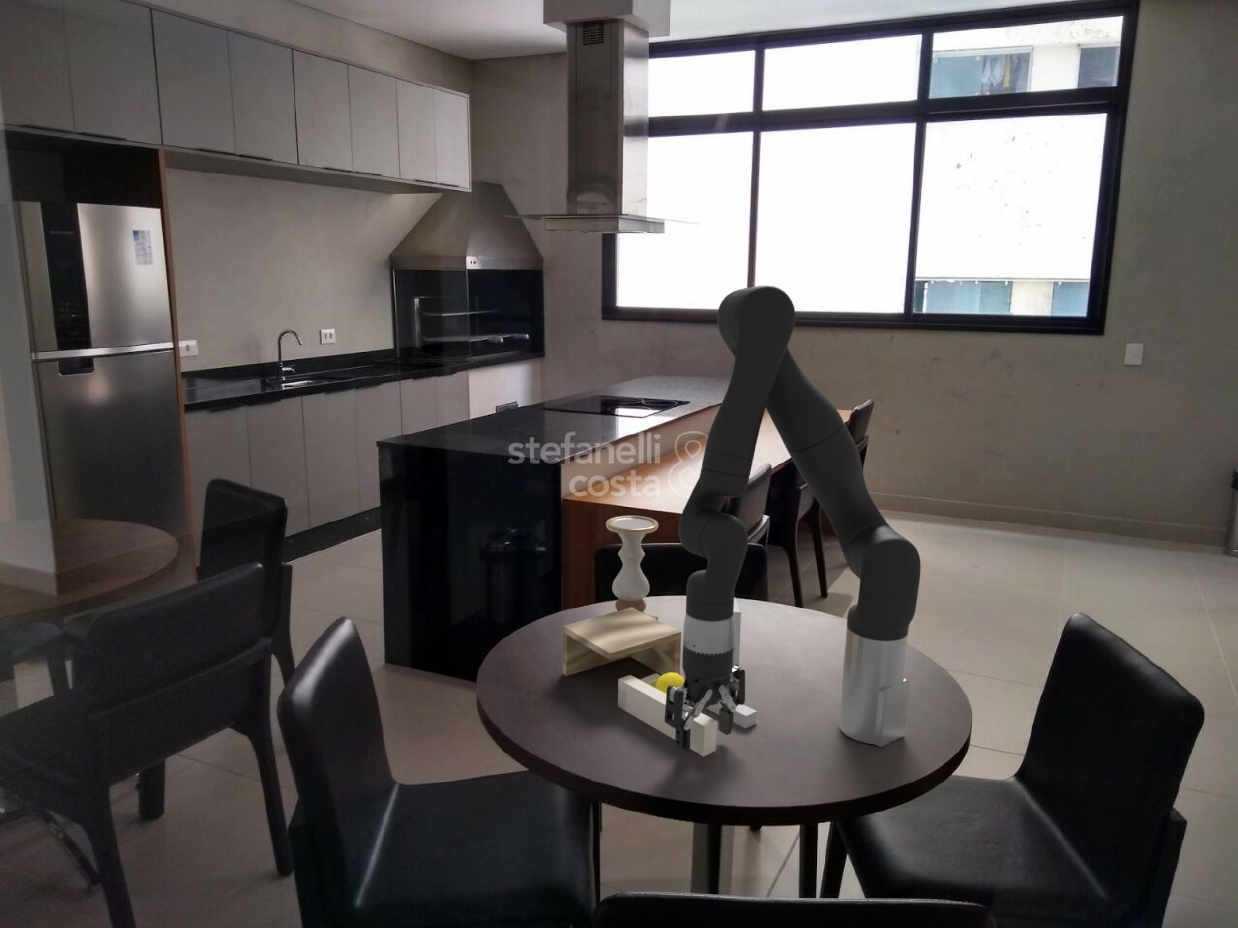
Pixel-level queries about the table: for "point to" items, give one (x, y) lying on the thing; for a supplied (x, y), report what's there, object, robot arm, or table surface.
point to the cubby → (621, 642)
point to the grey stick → (739, 714)
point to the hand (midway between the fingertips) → (704, 740)
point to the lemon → (669, 681)
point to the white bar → (663, 712)
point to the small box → (736, 632)
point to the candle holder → (631, 561)
